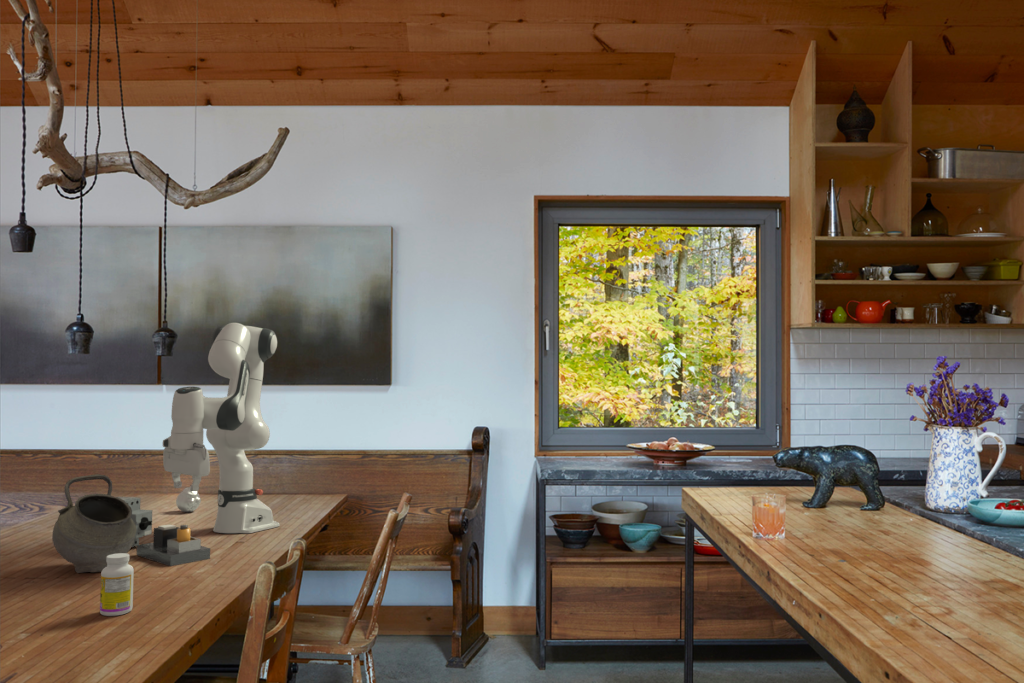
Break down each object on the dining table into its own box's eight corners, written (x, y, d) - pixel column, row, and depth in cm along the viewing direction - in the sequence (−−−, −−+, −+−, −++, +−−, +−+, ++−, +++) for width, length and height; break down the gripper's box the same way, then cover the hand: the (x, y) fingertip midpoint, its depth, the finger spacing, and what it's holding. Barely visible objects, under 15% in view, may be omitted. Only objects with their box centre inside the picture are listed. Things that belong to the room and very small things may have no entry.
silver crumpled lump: (175, 515, 293) (176, 488, 293) (176, 510, 301) (177, 485, 302) (200, 513, 296) (201, 487, 296) (200, 509, 305) (201, 484, 305)
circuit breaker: (139, 551, 232) (141, 502, 233) (99, 549, 235) (100, 500, 235) (155, 546, 239) (157, 498, 240) (116, 543, 242) (118, 496, 243)
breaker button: (169, 540, 231) (169, 524, 231) (175, 542, 229) (176, 525, 229) (157, 542, 228) (158, 526, 228) (163, 544, 226) (164, 527, 226)
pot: (57, 562, 217) (60, 474, 219) (137, 556, 225) (140, 471, 227) (44, 580, 198) (48, 484, 200) (132, 573, 207) (136, 480, 208)
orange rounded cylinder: (186, 547, 225) (186, 523, 225) (192, 549, 222) (193, 525, 223) (174, 549, 222) (174, 525, 222) (180, 551, 220) (181, 527, 220)
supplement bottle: (107, 608, 176) (109, 552, 177) (137, 607, 177) (139, 551, 177) (94, 617, 169) (96, 558, 170) (125, 616, 170) (127, 558, 170)
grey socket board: (175, 548, 237) (176, 522, 237) (209, 558, 224) (210, 531, 225) (136, 555, 227) (137, 528, 228) (170, 566, 215) (171, 537, 215)
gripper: (216, 443, 220) (215, 491, 219) (179, 439, 232) (178, 484, 232) (195, 445, 215) (194, 494, 214) (159, 440, 227) (158, 487, 227)
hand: (185, 489), depth 223 cm, fingers open, 8 cm apart
